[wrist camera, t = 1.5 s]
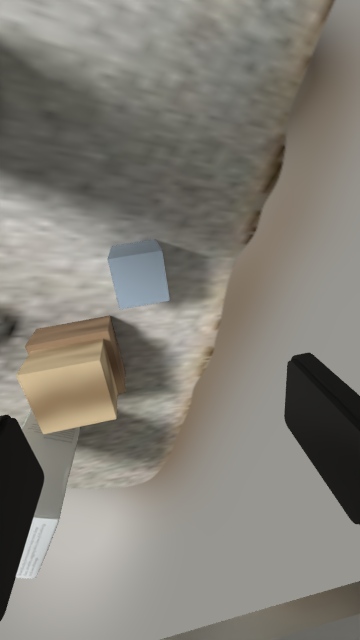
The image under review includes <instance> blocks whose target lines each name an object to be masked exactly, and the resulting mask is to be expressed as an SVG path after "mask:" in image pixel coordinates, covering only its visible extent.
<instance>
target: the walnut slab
mask: <svg viewBox="0 0 360 640" xmlns="http://www.w3.org/2000/svg"><path fill="white" fill-rule="evenodd" d="M97 339H104V343H105V346H106V350H107V354H108V358H109V361H110V365H111V369H112V373H113V376H114V380H115V384H116V388H117V391H118V394H121V393H125V370H124V366H123V362H122V358H121V355H120V351H119V347H118V343H117V340H116V336H115V332H114V328H113V325H112V321H111V317H110V316H105V317H99V318H94V319H89V320H83V321H78V322H72V323H67V324H62V325H56V326H51V327H45V328H40V329H36V331H35V332H34V333H33V335H32V336H31V338H30V339H29V341H28V342H27V344H26V345H25V348H26V350H27V352H28V355H29V354H30V352H31V351H35V350H40V349H46V348H52V347H57V346H63V345H69V344H74V343H80V342H86V341H91V340H97Z"/></svg>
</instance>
